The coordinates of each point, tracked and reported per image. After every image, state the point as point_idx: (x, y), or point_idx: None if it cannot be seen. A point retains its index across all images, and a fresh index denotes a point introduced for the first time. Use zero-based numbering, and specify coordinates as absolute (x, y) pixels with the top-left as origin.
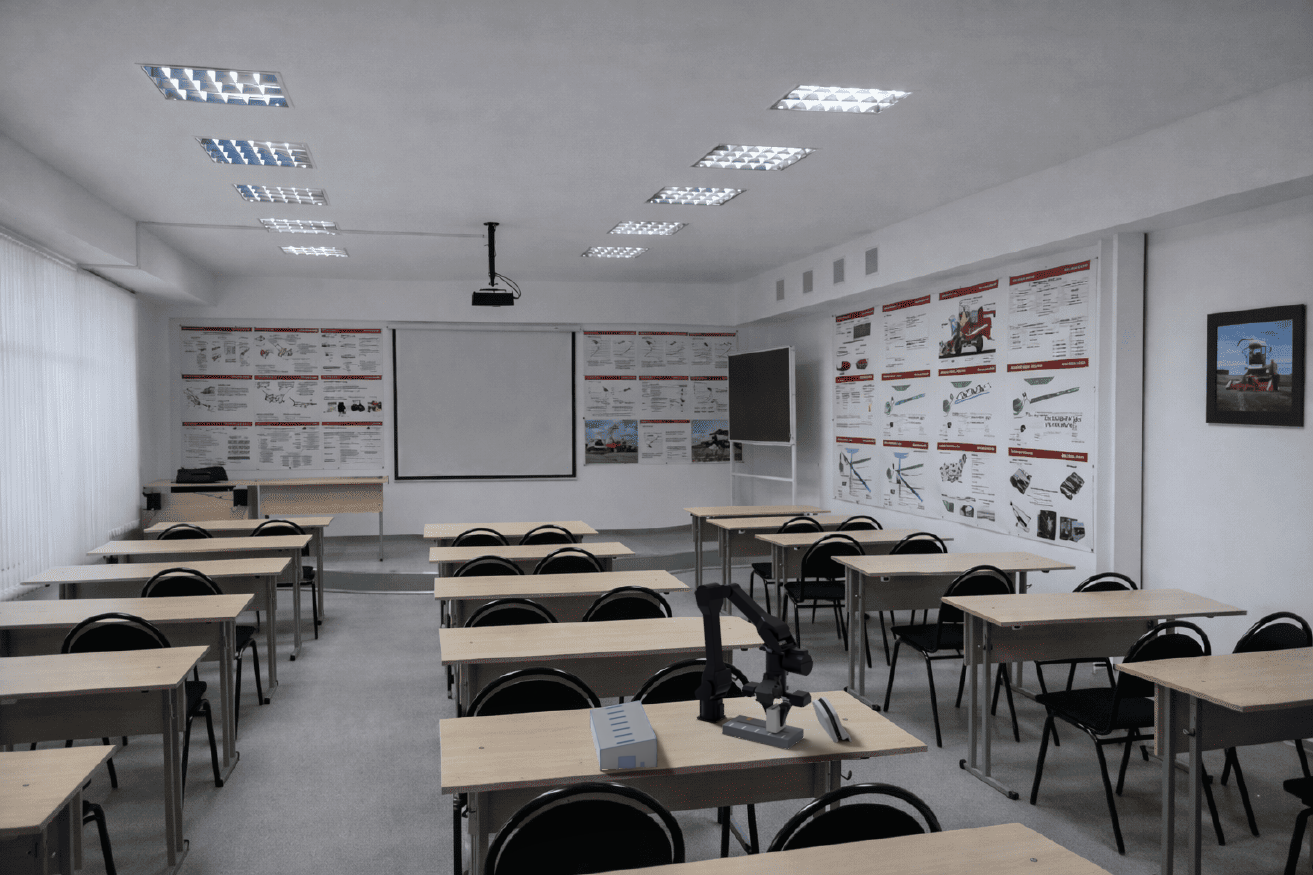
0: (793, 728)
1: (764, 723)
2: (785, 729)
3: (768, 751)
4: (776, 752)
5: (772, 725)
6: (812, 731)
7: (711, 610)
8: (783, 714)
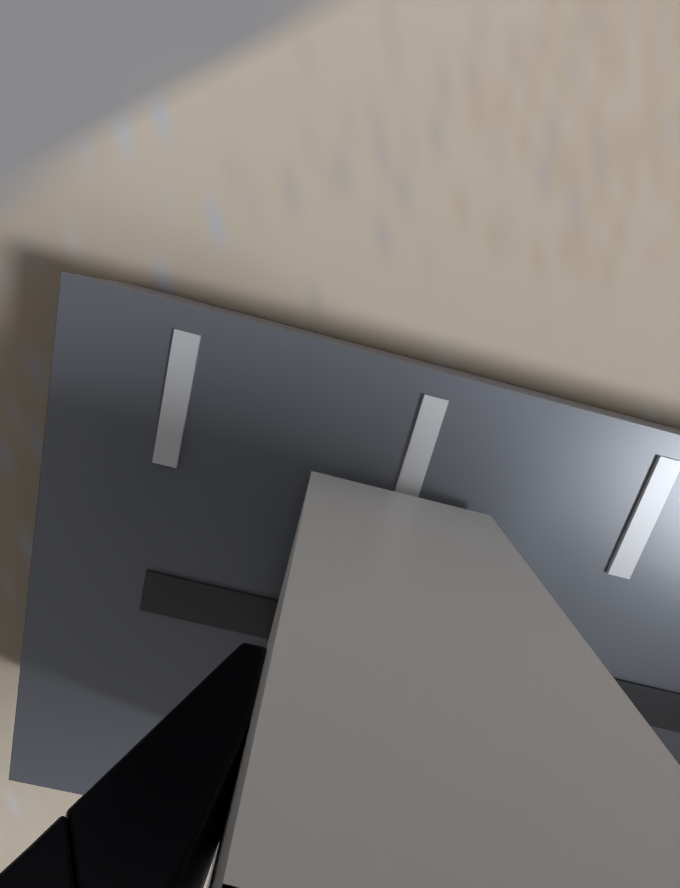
0: None
1: None
2: None
3: (357, 105)
4: (243, 108)
5: (390, 540)
6: None
7: None
8: (15, 877)
